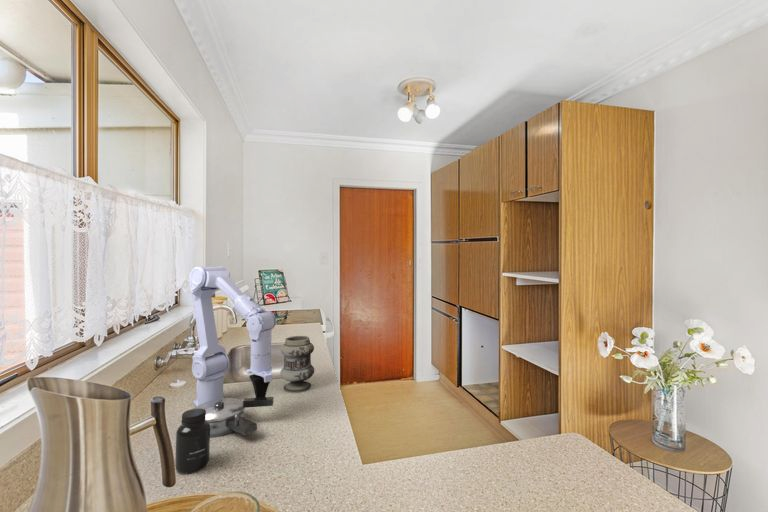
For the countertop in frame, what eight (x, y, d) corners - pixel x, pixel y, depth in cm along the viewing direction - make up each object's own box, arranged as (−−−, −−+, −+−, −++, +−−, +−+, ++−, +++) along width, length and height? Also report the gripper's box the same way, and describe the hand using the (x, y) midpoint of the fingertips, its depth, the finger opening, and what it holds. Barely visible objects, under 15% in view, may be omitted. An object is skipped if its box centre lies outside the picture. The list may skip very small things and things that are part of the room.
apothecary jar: (295, 379, 135) (296, 332, 135) (321, 385, 129) (321, 336, 129) (272, 390, 124) (273, 339, 124) (299, 396, 118) (299, 343, 118)
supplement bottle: (194, 476, 75) (195, 421, 75) (167, 472, 76) (168, 417, 76) (216, 458, 82) (216, 407, 82) (191, 455, 83) (191, 404, 83)
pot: (183, 428, 96) (183, 404, 96) (227, 411, 107) (227, 389, 107) (227, 452, 84) (227, 425, 84) (271, 430, 95) (271, 406, 95)
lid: (183, 423, 90) (183, 414, 90) (200, 402, 103) (200, 393, 103) (269, 417, 94) (270, 408, 94) (275, 397, 107) (275, 389, 107)
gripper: (240, 349, 106) (240, 394, 106) (254, 361, 95) (253, 411, 95) (263, 346, 111) (263, 389, 111) (279, 357, 99) (279, 405, 99)
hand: (260, 399), depth 103 cm, fingers closed
